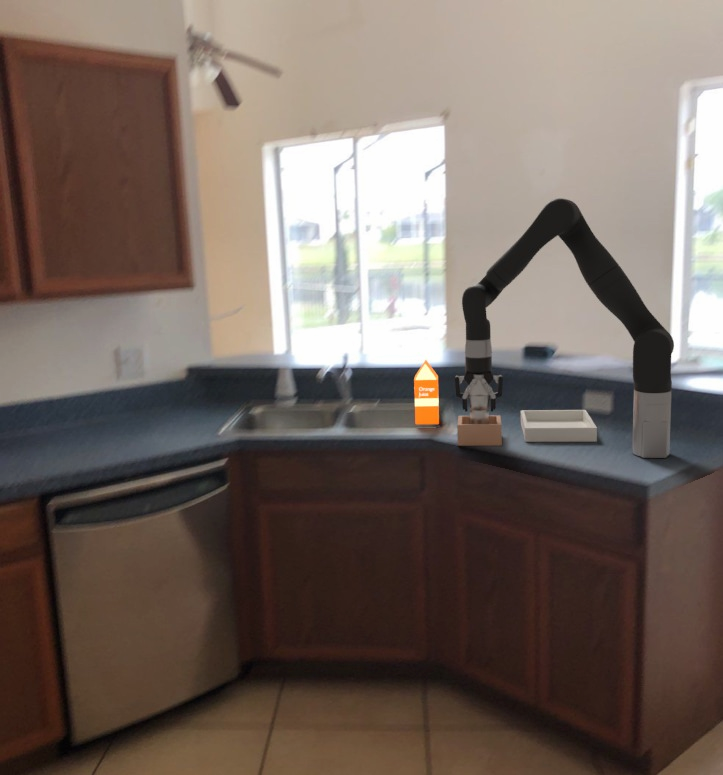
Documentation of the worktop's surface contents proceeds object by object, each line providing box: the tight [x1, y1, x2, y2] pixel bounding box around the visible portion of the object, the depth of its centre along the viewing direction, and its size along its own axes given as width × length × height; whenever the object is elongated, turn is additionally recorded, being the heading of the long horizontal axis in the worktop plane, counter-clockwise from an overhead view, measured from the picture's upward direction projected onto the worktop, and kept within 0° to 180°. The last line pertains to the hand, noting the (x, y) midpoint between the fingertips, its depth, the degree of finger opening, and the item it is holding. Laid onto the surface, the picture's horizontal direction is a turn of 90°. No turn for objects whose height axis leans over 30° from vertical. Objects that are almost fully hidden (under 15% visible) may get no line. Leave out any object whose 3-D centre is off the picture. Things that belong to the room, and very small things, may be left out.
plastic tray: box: [520, 409, 598, 443], centre depth 232 cm, size 24×20×4 cm
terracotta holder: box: [456, 414, 503, 446], centre depth 225 cm, size 12×12×6 cm
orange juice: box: [413, 359, 440, 425], centre depth 251 cm, size 8×9×20 cm
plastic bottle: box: [467, 374, 491, 424], centre depth 224 cm, size 6×7×20 cm
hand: (479, 410), depth 224 cm, fingers open, 7 cm apart
